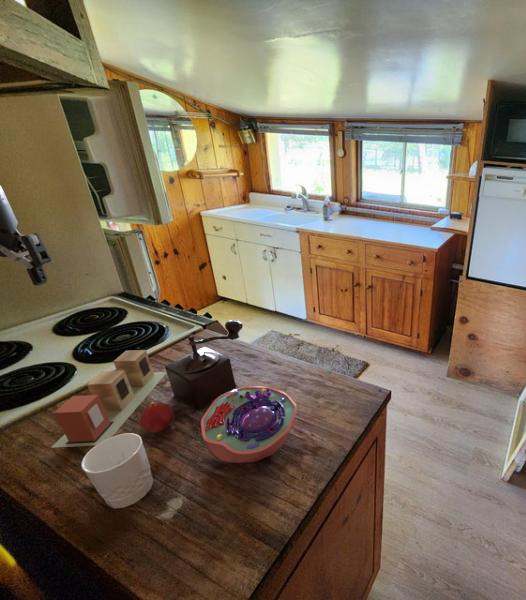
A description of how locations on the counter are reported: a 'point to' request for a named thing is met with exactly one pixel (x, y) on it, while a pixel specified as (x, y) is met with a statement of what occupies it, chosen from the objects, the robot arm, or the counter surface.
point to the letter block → (82, 418)
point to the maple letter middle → (112, 390)
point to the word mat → (117, 415)
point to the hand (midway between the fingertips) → (17, 284)
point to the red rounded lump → (156, 417)
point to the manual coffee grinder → (203, 372)
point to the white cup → (119, 470)
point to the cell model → (248, 423)
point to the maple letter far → (135, 367)
